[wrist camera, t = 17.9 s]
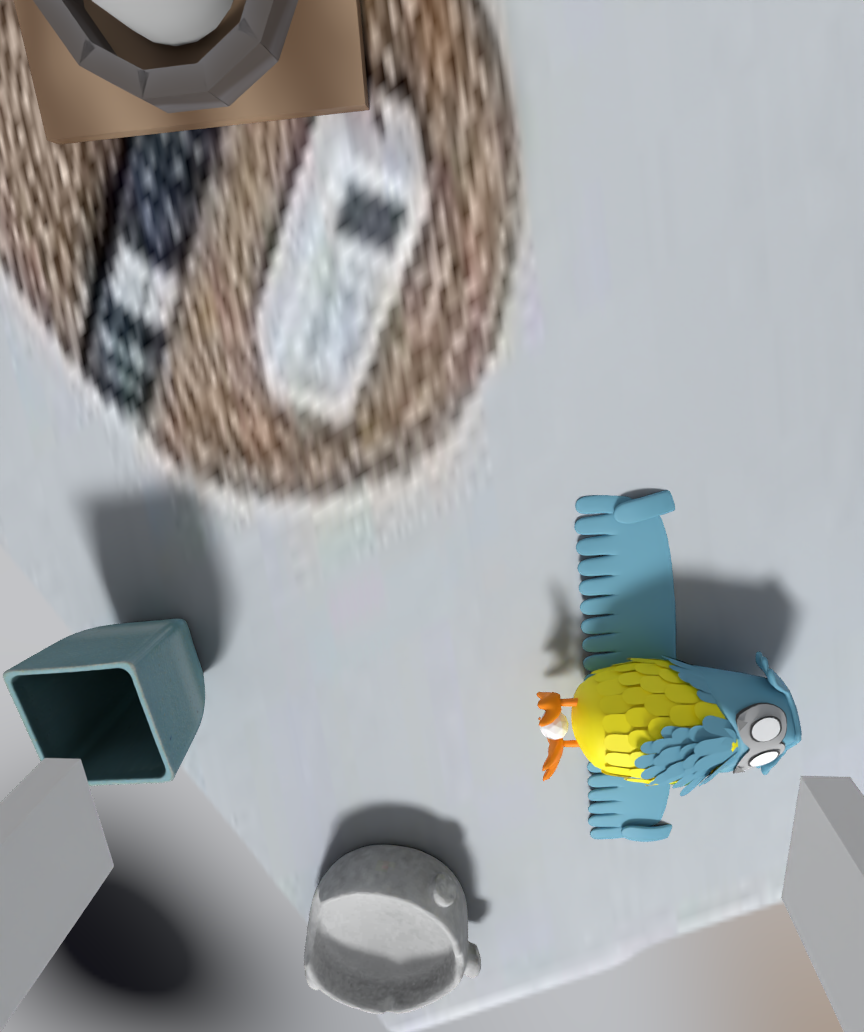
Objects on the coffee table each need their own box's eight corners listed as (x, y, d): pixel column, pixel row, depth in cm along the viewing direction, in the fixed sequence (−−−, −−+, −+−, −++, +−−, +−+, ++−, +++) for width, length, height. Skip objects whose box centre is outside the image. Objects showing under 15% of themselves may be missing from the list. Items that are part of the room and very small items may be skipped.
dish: (322, 952, 55) (305, 1013, 51) (300, 832, 51) (280, 887, 46) (484, 962, 53) (482, 1025, 49) (476, 838, 49) (473, 896, 44)
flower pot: (129, 703, 48) (49, 789, 40) (91, 602, 45) (-3, 672, 37) (234, 695, 47) (175, 783, 38) (202, 591, 44) (130, 660, 35)
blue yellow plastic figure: (527, 548, 31) (845, 524, 29) (519, 497, 39) (768, 476, 38) (556, 943, 40) (801, 944, 38) (544, 835, 48) (746, 831, 47)
